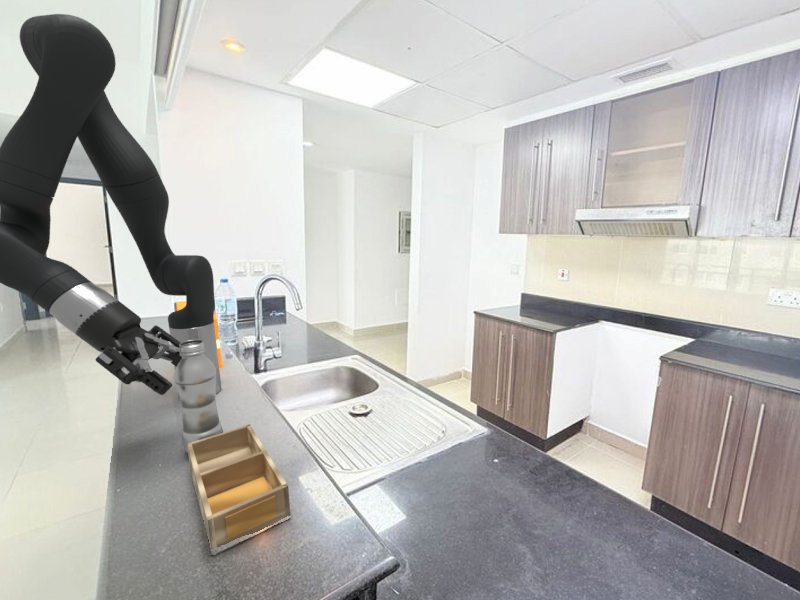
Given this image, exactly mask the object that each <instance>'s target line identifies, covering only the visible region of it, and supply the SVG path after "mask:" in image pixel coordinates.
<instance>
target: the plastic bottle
mask: <svg viewBox="0 0 800 600" xmlns="http://www.w3.org/2000/svg"><path fill="white" fill-rule="evenodd" d="M179 348H180V352H179V353H180V356H182V359H181V360H180V362H179V363H178V365H177V367H176V369H175V368H174V372H173V380H174V384H175V387H176V390H177V395H178V394H179V397H180V398H179V397H178V398H179V401H180V405H181V412H182V431H181V443H182V444H181V445H182V447H183V450H184V451H185V452H186V453H187V454H188V447H187V444H188V443H191V442H195V441H198V440H201V439H204V438H208V437H211V436H214V435H217V434H220V433H224V430H223V426H222V423H221V420H220V417H219V412H218V407H217V399H216V398H217V396H216V395H217V394H216V392H215V387H216V368H215V366H214V364H213V363H212V362H211V360H210V359H209V358H207V357H206V356H205V355H204V353H205V348H204V342H203V341H202V340H189V341H185V342H182V343H180V344H179Z"/></svg>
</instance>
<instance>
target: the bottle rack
mask: <svg viewBox="0 0 800 600" xmlns="http://www.w3.org/2000/svg"><path fill="white" fill-rule="evenodd" d="M187 447H188V453H187V454H188V461H189V467H190V468H189V470H190V474H191V473H192V475H191V478H193V479H192V482H193V481H194V483H193V486H194V485H195V487H194V489H196V490H195V493H196V498H197V497H198V498H197V502H198V501H199V502H198V505H200V506H199V510H200V509H201V510H200V513H202V514H201V517H203V518H202V521H203V520H204V522H203V525H204V524H205V526H204V529H205V528H206V530H205V533H206V532H207V534H206V537H207V536H208V538H207V540H208V539H209V542H208V544H209V543H210V546H209V548H210V547H211V549H213V548H216V547H220V546H221V545H225V544H227V543H229V542H231V541H233V540H235V539H237V538H240V537H242V536H245V535H249V534H253V533H255V532H258V531H260V530H262V529H264V528H265V527H268V526H270V525H273V524H274V523H276V522H278V521H279V520H281V519H283V518H285V517H287V516H291V505H290V494H289V493H290V492H289V485H288V483H287V482H286V480H285V479H284V477H283V475H282V473H281V472H280V470H279V469H278V467H277V465H276V464H275V461H273V459H272V458H271V456H270V454H269V453H268V451H267V450H266V448H265V446H264V444H263V442H261V440H260V439H259V437H258V435H257V433H256V432H255V430H254V429H253V428H252V426H251V424H247V425H244V426H241V427H237V428H234V429H230V430H227V431H223V433H220V434H217V435H214V436H211V437H208V438H204V439H201V440H198V441H195V442H191V443H188V444H187Z"/></svg>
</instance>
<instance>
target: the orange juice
mask: <svg viewBox="0 0 800 600" xmlns="http://www.w3.org/2000/svg"><path fill="white" fill-rule="evenodd" d="M185 306H186V300H183V301H176V311H178V310H180V309H182V308H184V307H185ZM214 326H215V334H216V343H217V352H218V361H219V368H220V369H223V362H222V354H221V353H222V352H221V342H220V333H219V327H218V326H219V323H218V318H217V315H216V311H215V309H214Z"/></svg>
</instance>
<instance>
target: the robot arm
mask: <svg viewBox="0 0 800 600" xmlns="http://www.w3.org/2000/svg"><path fill="white" fill-rule="evenodd" d="M19 41H20V46H21V49H22V51H23V54H24V55H25V58H26V59H27V62H29V64H30V66H31V67H32V69H33V70H34V72H35V73H36V75H37V77H38V80H37V82H36V86H35V89H34V91H33V93H32V95H31V97H30V100H29V102H28V104H27V105H26V107H25V109H24V111H23V112H22V113H21V115H20V116H19V118H17V120H16V122H15V123H14V124H13V126H12V127H11V128H10V130H9V131H8V133H7V134H6V135H5V137H4V138H3V140H2V143H1V144H0V284H1V285H3V286H4V287H5V286H6V287H8V288H11V289H12V290H15V291H17V292H19V293H21V294H23V295H25V296H26V297H27V298H29V300H30V301H32V302H34V303H35V304H36V305H38V307H40V308H42V309H43V310H44V311H46V312H47V313H48V314H50V315H51V316H53V317H54V319H55V320H56V321H57V322H58V323H60V325H62V326H63V327H64V328H66V329H67V330H69V331H70V332H71V333H73V334H74V335H76V336H77V337H78V338H80V339H81V340H82V341H84V342H85V343H86V344H87V345H89V346H90V347H92V348H93V349H95V350H96V351H98V352H99V355H97V357H96V358H95V362H97V364H99V365H100V366H101V367H103V368H104V369H105V370H107V371H108V372H109V373H111V374H112V375H113V376H114V377H116V378H117V380H119V381H121V382H122V383H123V384H125V385H131V384H132V383H134V382H136V383H142V384H143V385H145V386H146V387H148V388H149V389H150V390H152V391H153V392H155V393H157V394H159V395H160V396H163V395H165V394H167V392H168V391H169V390H170V389H171V388H172V386H173V384H172V382H171V381H170V380H168V379H167V378H166V377H164V376H163V375H161V373H159V372H158V371H156V370H154V369H153V370H152V367H151V365H150V363H149V360H151V359H153V360H159V359H161V360H166V361H170V363H171V364H172V365H173V366H174V370H175V369H176V367H177V365H178V363H179V362H180V360H181V359H182V356H180V353H179V352H180V348H179V344H180V343H182V342H185V341H189V340H202V341H203V342H204V348H205V353H204V355H205V356H206V357H207V358H209V359H210V360H211V362H212V363H213V364H214V366H215V368H216V387H215V392H216V395H217V394H218V393H219V392H220V391H222V382H221V381H222V380H221V371H220V369H219V361H218V352H217V343H216V334H215V326H214V310H215V309H216V307H215V306H216V303H215V285H214V282H215V281H214V273H213V268H212V266H211V264H210V262H209V259H207V258H206V257H205V256H202V255H198V254H194V255H193V254H192V255H188V254H184V255H183V254H182V255H179V254H178V255H177V254H175V253H174V252H173V250H172V249H171V246H170V245H169V242H168V240H167V238H166V232H165V230H166V229H165V228H166V222H167V219H168V218H167V217H168V212H169V206H170V199H169V198H170V197H169V194H168V191H167V189H166V186H165V184H164V182H163V180H162V177H161V176H160V173H159V172H158V169H157V168H156V165H155V163H153V161H152V158H150V156H149V155H148V153H147V152H146V151H145V150H144V148H143V147H142V146H141V145H140V143H139V142H138V141H137V140H136V139H135V137H134V136H133V135H132V134H131V132H130V131H129V130H128V129H127V127H126V126H125V125H124V124H123V122H122V121H121V120H120V118H119V117H118V116H117V114H116V112H115V111H114V109H113V106H112V105H111V102H110V101H109V98H108V96H107V94H106V91H105V90H106V88H107V86H108V85H109V83H110V81H111V80H112V78H113V77H114V75H115V70H116V66H117V65H116V55H115V51H114V50H113V47H112V45H111V43H110V41H109V40H108V38H107V37H106V36H105V35H104V33H103V32H102V31H101V30H100V29H99V28H98V27H96V26H95V25H94V24H92V23H91V22H90V21H88V20H86V19H84V18H82V17H79V16H75V15H72V14H63V13H53V14H46V15H45V14H43V15H35V16H32V17H29V18H27V19H26V20H25V21H24V22H23V24H22V25H21V27H20V30H19ZM77 139H78V140H79V143H80V144H81V146H82V148H83V150H84V152H85V153H86V155H87V157H88V159H89V161H90V163H91V164H92V166H93V168H94V170H95V171H96V174H97V176H98V178H99V179H100V181H101V184H102V185H103V187H104V189H105V191H106V192H107V195H108V196H109V198H110V199H111V201H112V203H113V204H114V206H115V208H116V209H117V211H118V212H119V214H120V216H121V218H122V219H123V221H124V223H125V225H126V226H127V229H128V231H129V232H130V234H131V236H132V238H133V240H134V241H135V244H136V246H137V248H138V251H139V253H140V255H141V258H142V260H143V262H144V264H145V267H146V269H147V271H148V272H147V273H148V274H149V276H150V278H151V280H152V282H153V284H154V285H155V287H156V289H158V291H160V292H161V293H162V294H164V295H168V296H174V297H176V296H179V297H182V296H185V297H186V299H185V301H186V306H185V307H184V308H182V309H180V310H178V311H177V310H174V311H172V312H170V314H169V315H168V316H167V323H168V330H169V333H168V332H167V331H165V330H164V329H162V327H160V326H158V325H154V326H153V327H151V329H150V330H146V329H144V328H142V327H141V322H142V318H141V317H140V316H139V315H138V314H136V313H135V311H133V310H131V309H130V308H129V307H127V306H126V305H125V304H124V303H122V302H121V301H120V300H119V299H117V298H116V297H114V296H113V294H111V293H109V292H108V291H106V290H105V289H103V288H102V287H100V286H98V285H96V284H95V283H94V282H92V281H91V280H89V279H88V278H87V277H86V276H84V274H82V273H80V272H79V271H78V270H77V269H75V268H74V267H72V266H71V265H69V264H67V263H65V262H64V261H60V260H57V259H54V258H50V257H47V256H46V254H47V252H48V249H49V246H50V238H51V221H52V220H51V219H52V218H51V205H52V203H53V200H54V198H55V196H56V193H57V190H58V187H59V184H60V181H61V178H62V175H63V174H64V170H65V167H66V164H67V162H68V159H69V156H70V153H71V151H72V149H73V147H74V145H75V142H76V140H77ZM123 368H124V369H125V370H126V371H127V372H128V373H126V372H125V371H123ZM177 395H178V399H180V397H179V394H178V393H177Z"/></svg>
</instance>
